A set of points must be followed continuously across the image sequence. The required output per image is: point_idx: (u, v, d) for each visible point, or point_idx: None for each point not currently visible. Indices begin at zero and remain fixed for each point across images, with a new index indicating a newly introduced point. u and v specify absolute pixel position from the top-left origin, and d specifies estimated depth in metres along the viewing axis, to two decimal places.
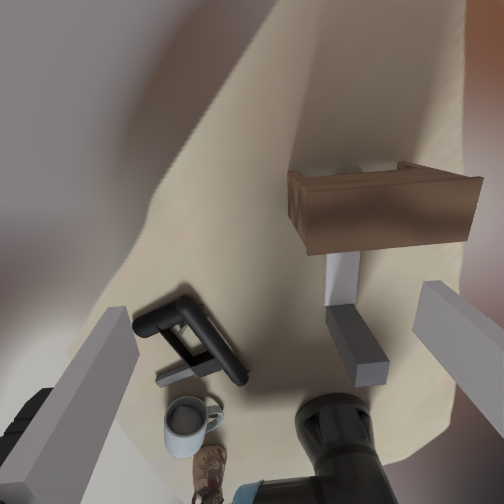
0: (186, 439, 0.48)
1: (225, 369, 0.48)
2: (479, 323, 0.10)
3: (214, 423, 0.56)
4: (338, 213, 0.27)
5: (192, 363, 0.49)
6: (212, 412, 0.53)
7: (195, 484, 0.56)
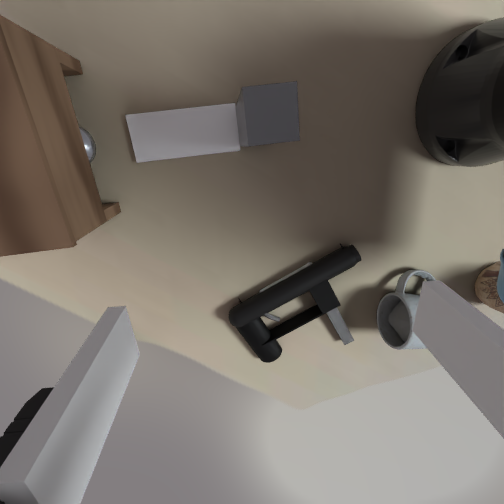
0: None
1: (328, 277, 0.38)
2: (479, 323, 0.10)
3: (430, 280, 0.42)
4: (7, 219, 0.23)
5: (320, 309, 0.41)
6: (402, 287, 0.40)
7: None
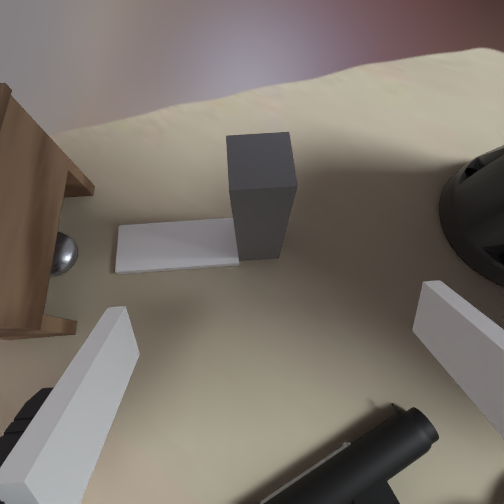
0: None
1: (385, 473, 0.21)
2: (479, 323, 0.10)
3: None
4: None
5: None
6: None
7: None
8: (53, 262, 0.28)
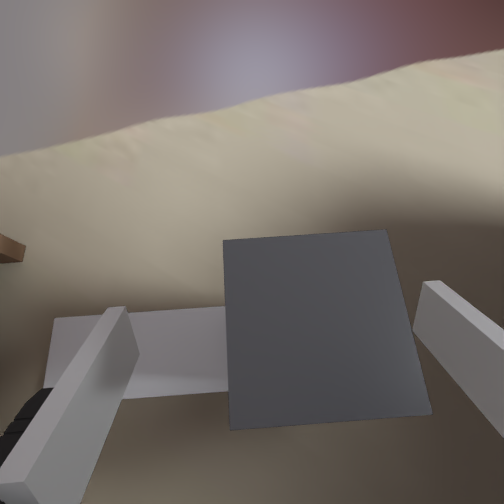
0: None
1: None
2: (479, 323, 0.10)
3: None
4: None
5: None
6: None
7: None
8: None
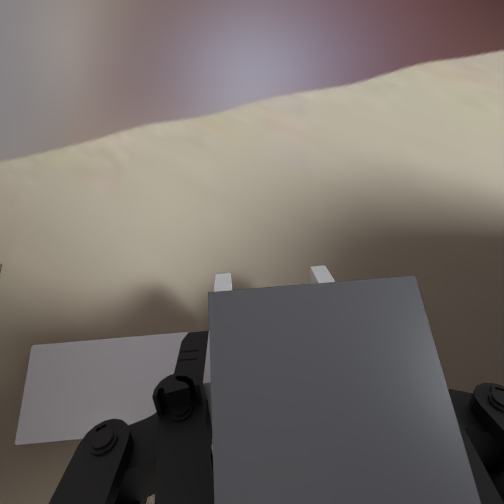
0: None
1: None
2: None
3: None
4: None
5: None
6: None
7: None
8: None
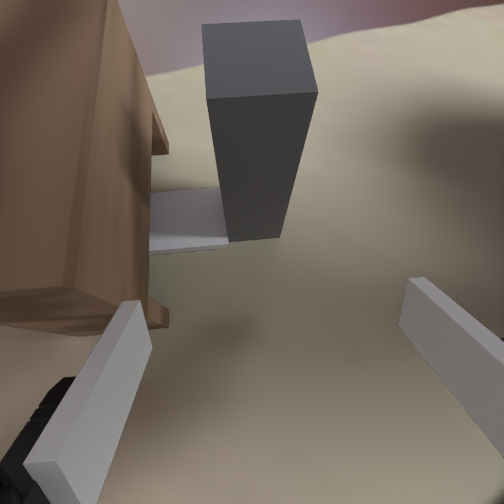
0: None
1: None
2: (458, 317, 0.10)
3: None
4: None
5: None
6: None
7: None
8: None
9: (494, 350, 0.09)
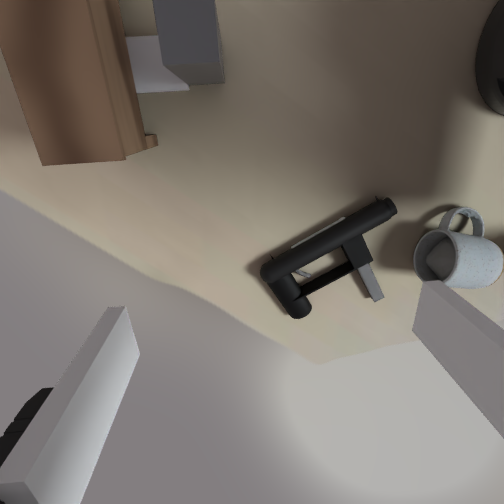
0: (460, 267, 0.35)
1: (362, 231, 0.38)
2: (479, 323, 0.10)
3: (475, 220, 0.40)
4: (58, 124, 0.22)
5: (351, 265, 0.41)
6: (447, 223, 0.38)
7: None
8: None
9: None
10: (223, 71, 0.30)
